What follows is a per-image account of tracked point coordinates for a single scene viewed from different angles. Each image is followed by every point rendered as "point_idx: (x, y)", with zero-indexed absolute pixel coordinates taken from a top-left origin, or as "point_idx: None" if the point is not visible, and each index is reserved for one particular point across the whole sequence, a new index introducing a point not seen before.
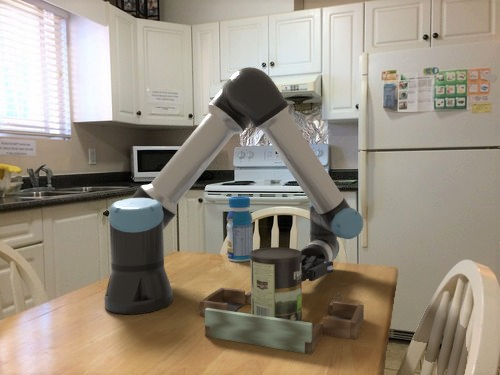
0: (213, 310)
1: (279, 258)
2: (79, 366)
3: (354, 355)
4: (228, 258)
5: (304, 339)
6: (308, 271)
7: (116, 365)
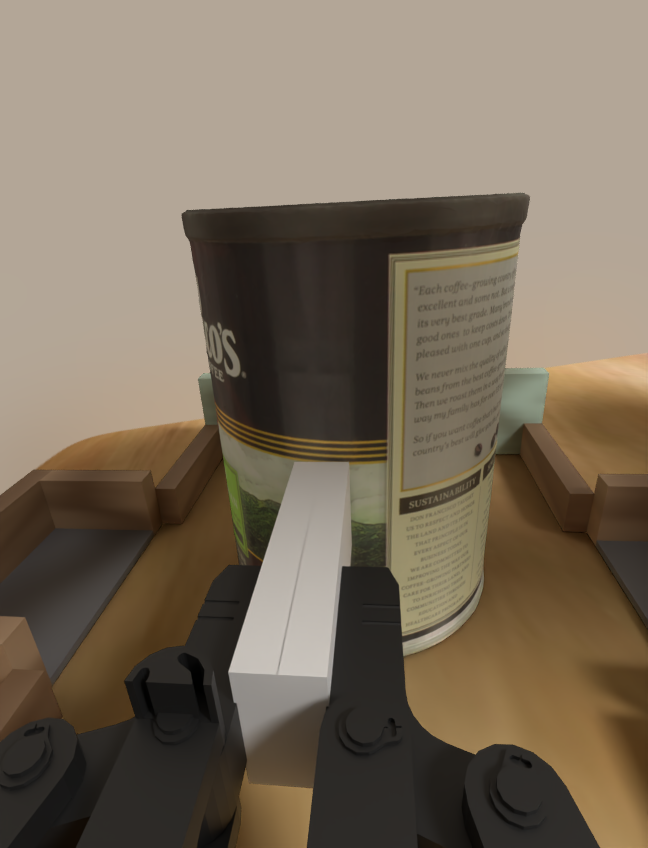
0: (513, 369)
1: (298, 204)
2: (632, 360)
3: (99, 463)
4: None
5: None
6: (79, 806)
7: (579, 369)
